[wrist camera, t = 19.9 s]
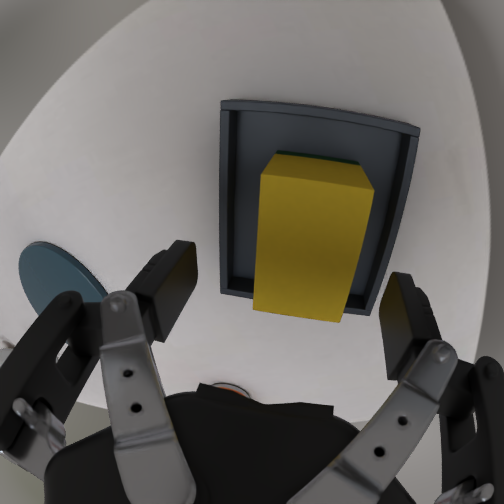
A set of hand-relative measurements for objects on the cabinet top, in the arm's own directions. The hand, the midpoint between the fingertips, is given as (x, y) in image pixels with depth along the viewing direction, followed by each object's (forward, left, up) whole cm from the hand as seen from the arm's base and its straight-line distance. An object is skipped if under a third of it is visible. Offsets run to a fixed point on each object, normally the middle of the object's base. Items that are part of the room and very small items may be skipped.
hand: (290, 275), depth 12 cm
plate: (+14, -23, -7) cm, 28 cm away
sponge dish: (0, +1, -7) cm, 7 cm away
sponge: (0, +1, -6) cm, 6 cm away
